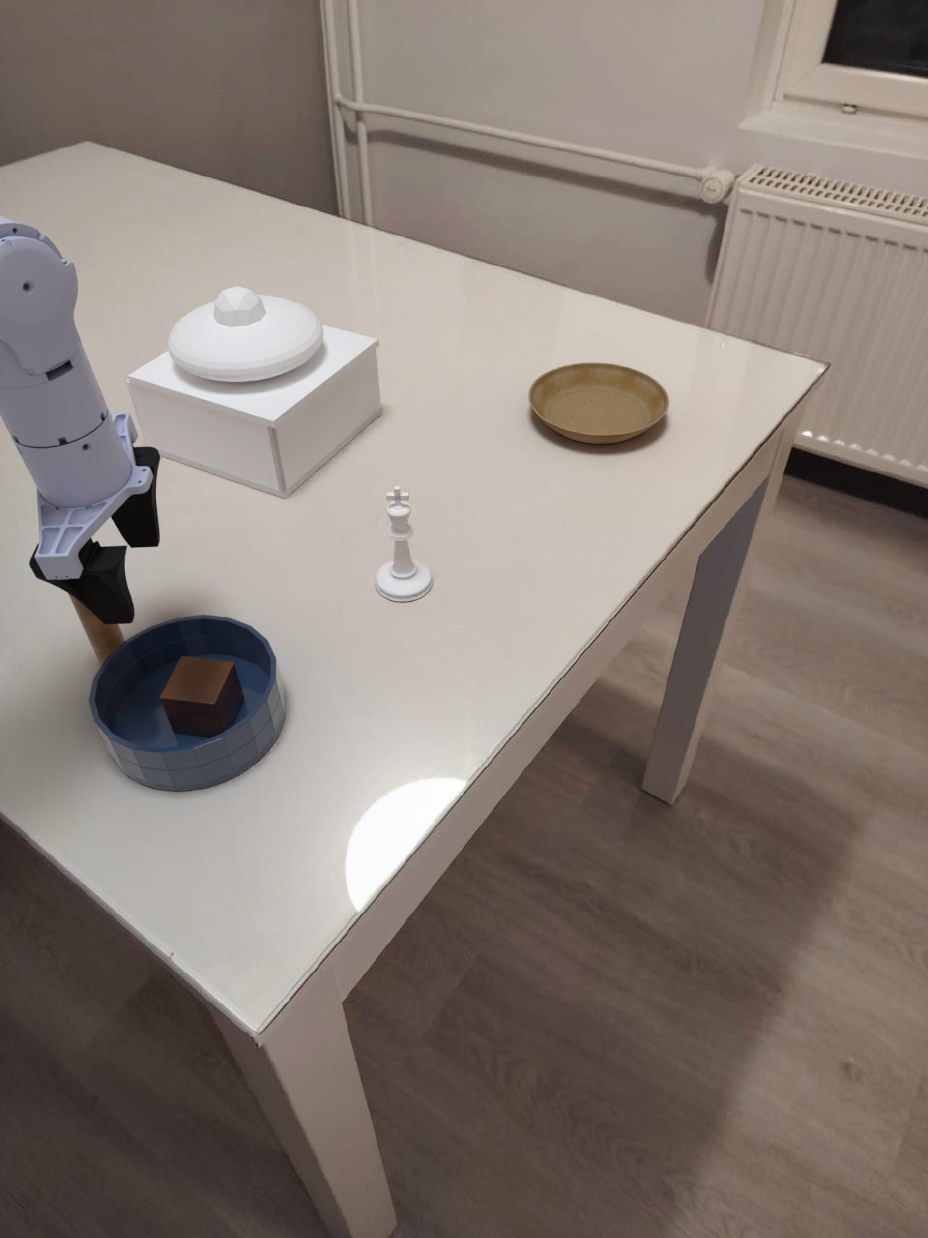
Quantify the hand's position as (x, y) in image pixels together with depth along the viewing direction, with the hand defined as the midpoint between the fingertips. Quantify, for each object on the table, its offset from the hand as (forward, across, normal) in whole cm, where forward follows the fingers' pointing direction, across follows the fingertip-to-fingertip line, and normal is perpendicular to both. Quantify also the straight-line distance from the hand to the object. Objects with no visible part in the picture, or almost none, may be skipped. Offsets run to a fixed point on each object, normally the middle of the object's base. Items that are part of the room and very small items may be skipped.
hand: (132, 580), depth 62 cm
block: (+8, -6, -4) cm, 11 cm away
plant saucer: (+12, +35, -38) cm, 53 cm away
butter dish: (+11, +33, -3) cm, 35 cm away
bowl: (+9, -6, -4) cm, 11 cm away
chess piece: (+10, +9, -18) cm, 23 cm away
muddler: (+9, +1, +4) cm, 10 cm away
